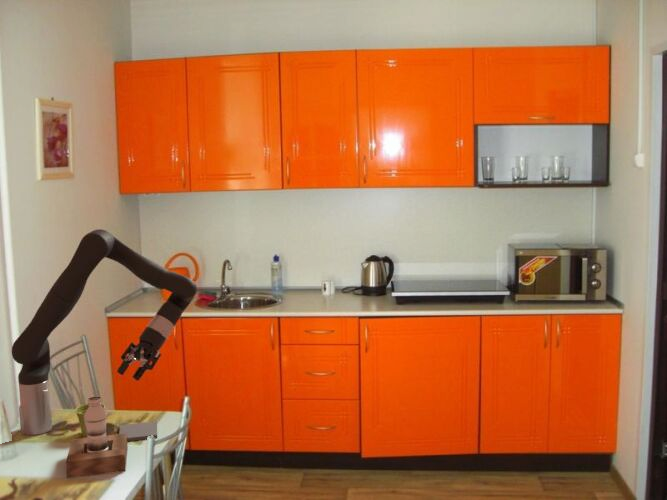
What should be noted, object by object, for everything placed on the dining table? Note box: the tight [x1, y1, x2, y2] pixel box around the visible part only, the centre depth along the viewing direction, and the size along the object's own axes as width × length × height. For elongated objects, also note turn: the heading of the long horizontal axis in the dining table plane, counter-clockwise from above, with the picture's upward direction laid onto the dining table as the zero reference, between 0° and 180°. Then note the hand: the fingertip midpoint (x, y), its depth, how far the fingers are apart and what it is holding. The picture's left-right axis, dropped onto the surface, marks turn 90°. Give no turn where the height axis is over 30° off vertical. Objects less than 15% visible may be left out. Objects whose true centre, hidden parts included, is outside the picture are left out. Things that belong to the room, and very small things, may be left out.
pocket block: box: [65, 433, 129, 479], centre depth 201 cm, size 16×16×5 cm
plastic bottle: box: [84, 395, 109, 453], centre depth 200 cm, size 6×7×20 cm
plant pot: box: [74, 403, 106, 437], centre depth 223 cm, size 9×9×9 cm
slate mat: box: [118, 420, 158, 442], centre depth 224 cm, size 12×12×1 cm
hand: (127, 376), depth 207 cm, fingers open, 8 cm apart
